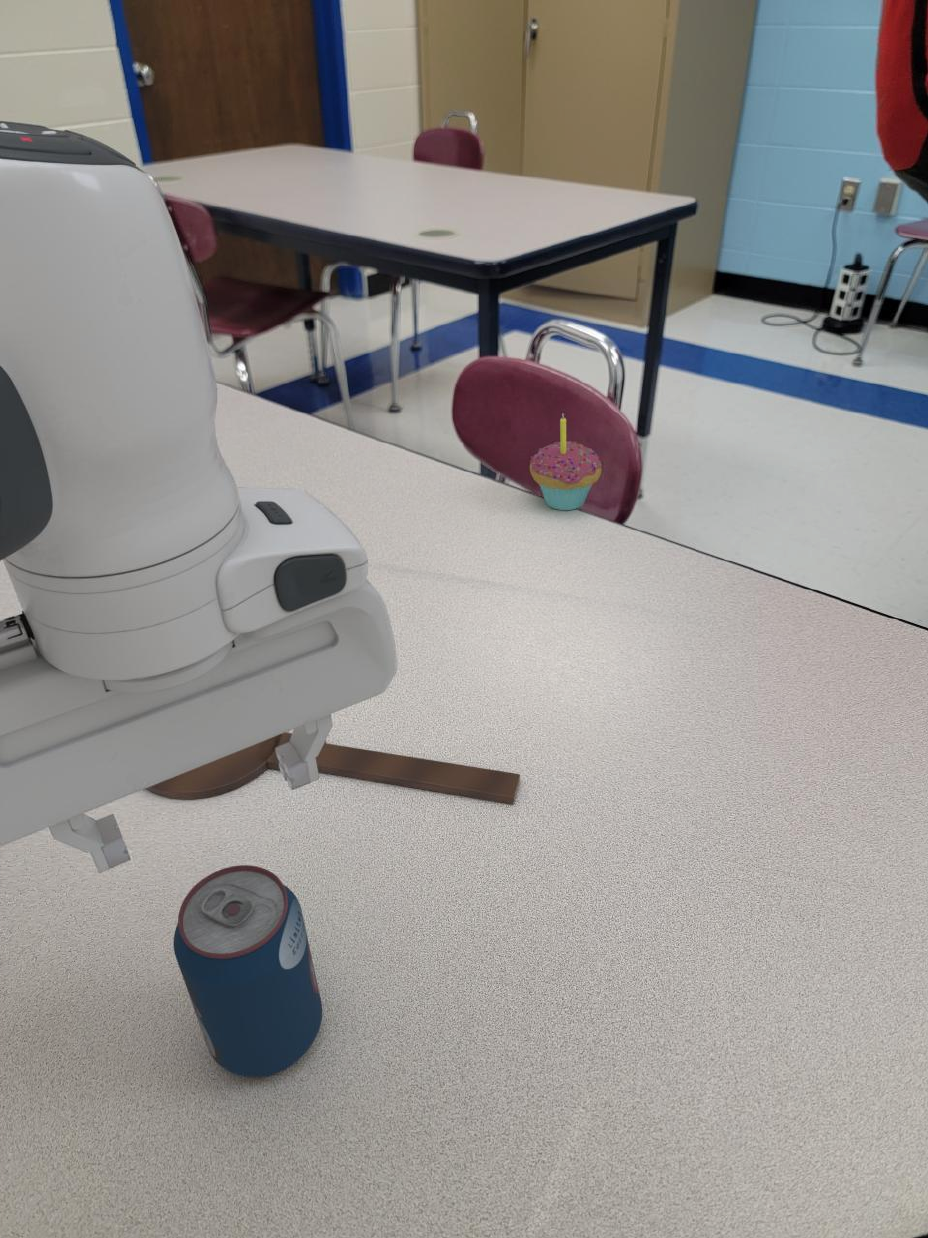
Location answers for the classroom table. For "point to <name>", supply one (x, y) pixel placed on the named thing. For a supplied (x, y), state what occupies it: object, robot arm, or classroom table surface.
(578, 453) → the cupcake
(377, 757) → the serving spoon
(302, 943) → the soda can
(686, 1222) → the classroom table surface
